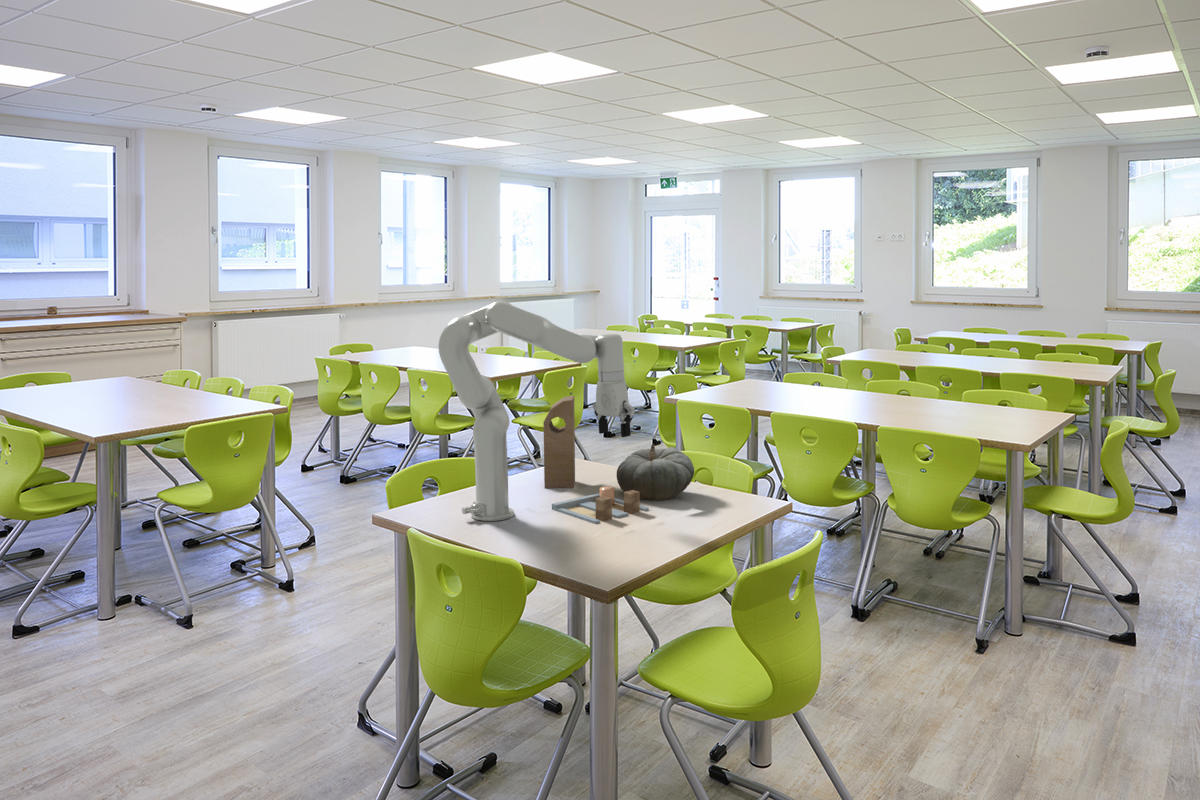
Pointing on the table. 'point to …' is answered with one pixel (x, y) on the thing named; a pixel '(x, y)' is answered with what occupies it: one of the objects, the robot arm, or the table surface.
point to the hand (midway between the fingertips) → (614, 434)
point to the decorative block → (560, 446)
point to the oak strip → (629, 502)
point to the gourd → (656, 473)
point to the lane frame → (588, 504)
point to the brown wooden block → (603, 509)
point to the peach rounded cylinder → (608, 493)
